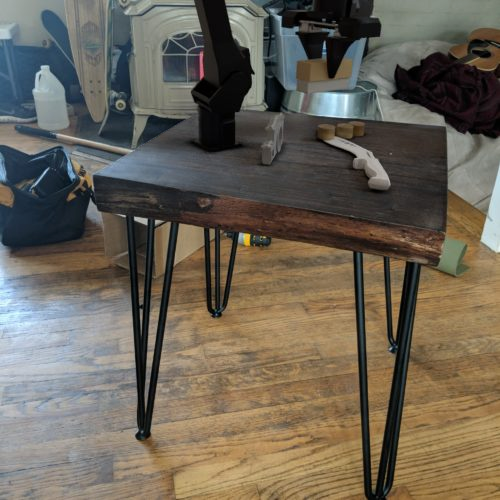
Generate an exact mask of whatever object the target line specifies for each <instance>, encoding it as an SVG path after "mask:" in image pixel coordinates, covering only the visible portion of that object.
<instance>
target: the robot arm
mask: <svg viewBox="0 0 500 500" xmlns="http://www.w3.org/2000/svg"><path fill="white" fill-rule="evenodd" d="M193 2H194V6H195V10H196V14H197V15H196V16H197V20H198V23H199V27H200V31H201V35H202V39H203V49H202V52H203V53H202V60H201V61H202V62H201V63H202V73H203V76H202V77H201V78H200V80H198V82H197V83H196V84H195V85H194V86H193V87H192V89H191V90H190V95H191V97H192V100H193V103H194V104H197V111H198V112H197V116H198V119H197V120H198V137H194V138H191V139H190V142H191V143H192V144H195V145H196V146H199V147H200V148H202V149H204V150H207V151H209V152H216V151H221V150H226V149H231V148H235V147H236V148H237V147H241V146H243V142H242V141H240V140H237V139H236V124H237V123H236V122H237V121H236V113H240V112H241V109H242V106H243V103H244V100H245V97H246V96H247V95H248V93H249V92H250V90H251V89H252V87H253V76H254V75H256V71H254V69H253V65H252V60H251V52H250V48H249V47H246V46H243V45H239V44H238V43H237V42H236V40H235V38H234V36H233V31H232V26H231V22H230V21H231V20H230V17H229V11H228V7H227V2H226V0H193ZM374 7H375V5H374V4H373V3H371V2H369V1H367V0H312V9H311V10H309V9H286V10H285V11H284V12H283V13H282V15H281V23H280V24H281V26H280V27H281V28H283V29H289V30H290V29H291V30H292V29H294V28H298V31H297V30H295V31H294V35H295V36H297V37H298V39H299V41H300V44H301V46H302V48H303V51H304V53H305V56H306V59H307V60H309V59H320V58H323V52H324V47H325V58H326V59H327V71H328V77H329V79H334V78H335V76H336V74H337V71H338V69H339V67H340V64H341V62H342V60H343V58H345V55H346V54H347V52H348V51H349V48H350V47H351V46H352V45H353V44H354V43H355V42H357V41H361V40H362V39H370V38H381V34H382V25H383V24H382V22H381V20H380V18H379V17H373V16H372V13H373V10H374ZM323 29H325V30H323ZM326 30H331V31H333V35H330V33H331V31H326ZM324 45H325V46H324Z"/></svg>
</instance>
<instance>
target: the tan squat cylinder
mask: <svg viewBox="0 0 500 500" xmlns="http://www.w3.org/2000/svg"><path fill="white" fill-rule="evenodd" d="M334 136H336V126H335V125H332V124H330V123H329V124H327V123H322V124H319V125H318V126H317V136H316V137H317V139H319V140H322V139H323V140H331V139H334ZM323 140H322V141H323Z"/></svg>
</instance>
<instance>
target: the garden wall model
mask: <svg viewBox="0 0 500 500" xmlns="http://www.w3.org/2000/svg"><path fill="white" fill-rule="evenodd" d="M285 117H286V115H285V114H283V112H280V113H276V114H274V115H271V117H270V119H269V121H268V123H267V125H266V127H264V130H266V131H267V132H266V141H263V143H262V145H261V146H260V148H261V149H262V150H261V162H262V164H263V165H268V166H269V165H271V164H272V162H273V160H274V158H275V157H276V155H277V154H278V153H280V152H281V150H282V145H283V141H284V124H285V123H284V121H285Z"/></svg>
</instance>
